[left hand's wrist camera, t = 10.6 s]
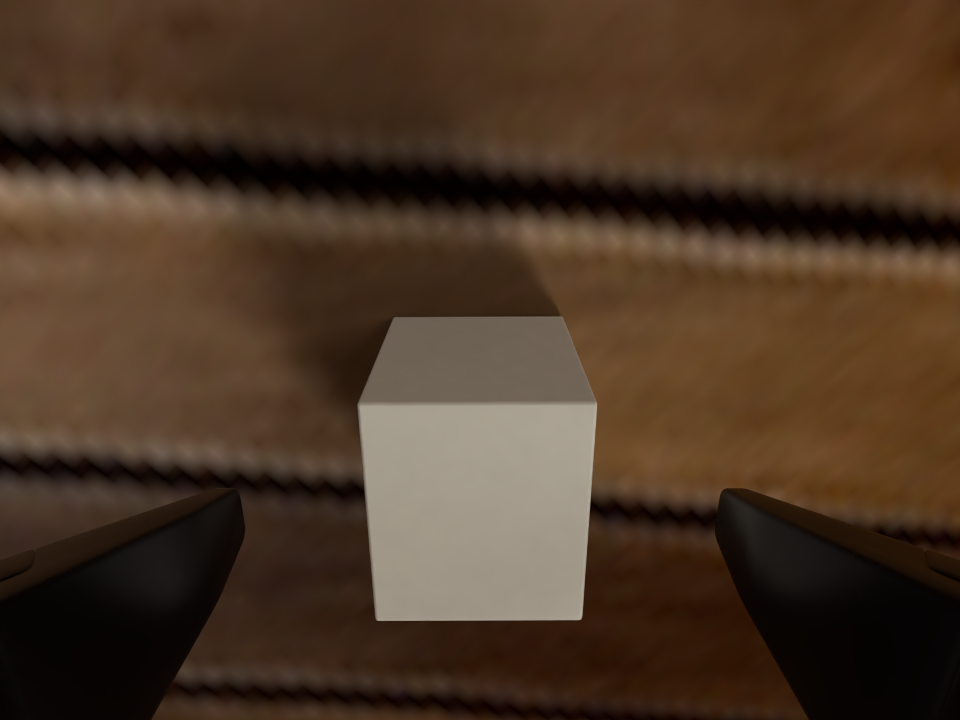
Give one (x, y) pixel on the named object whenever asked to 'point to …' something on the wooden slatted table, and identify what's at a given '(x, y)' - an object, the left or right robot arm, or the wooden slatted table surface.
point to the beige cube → (477, 469)
